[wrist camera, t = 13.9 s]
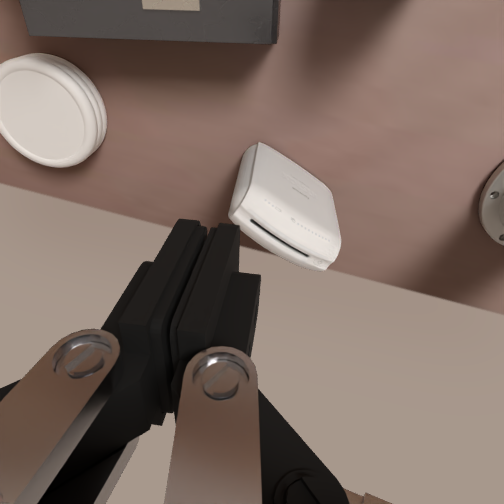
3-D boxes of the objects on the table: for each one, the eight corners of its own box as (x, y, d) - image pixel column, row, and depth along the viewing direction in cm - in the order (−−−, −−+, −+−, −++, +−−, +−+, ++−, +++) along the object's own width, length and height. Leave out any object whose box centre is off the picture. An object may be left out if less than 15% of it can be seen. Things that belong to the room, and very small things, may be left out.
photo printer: (338, 189, 39) (353, 259, 29) (312, 217, 42) (318, 292, 32) (257, 132, 37) (244, 189, 27) (234, 166, 39) (213, 230, 29)
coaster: (106, 64, 35) (89, 71, 32) (111, 164, 40) (98, 178, 38) (-3, 41, 34) (-30, 47, 31) (18, 146, 40) (-3, 158, 37)
